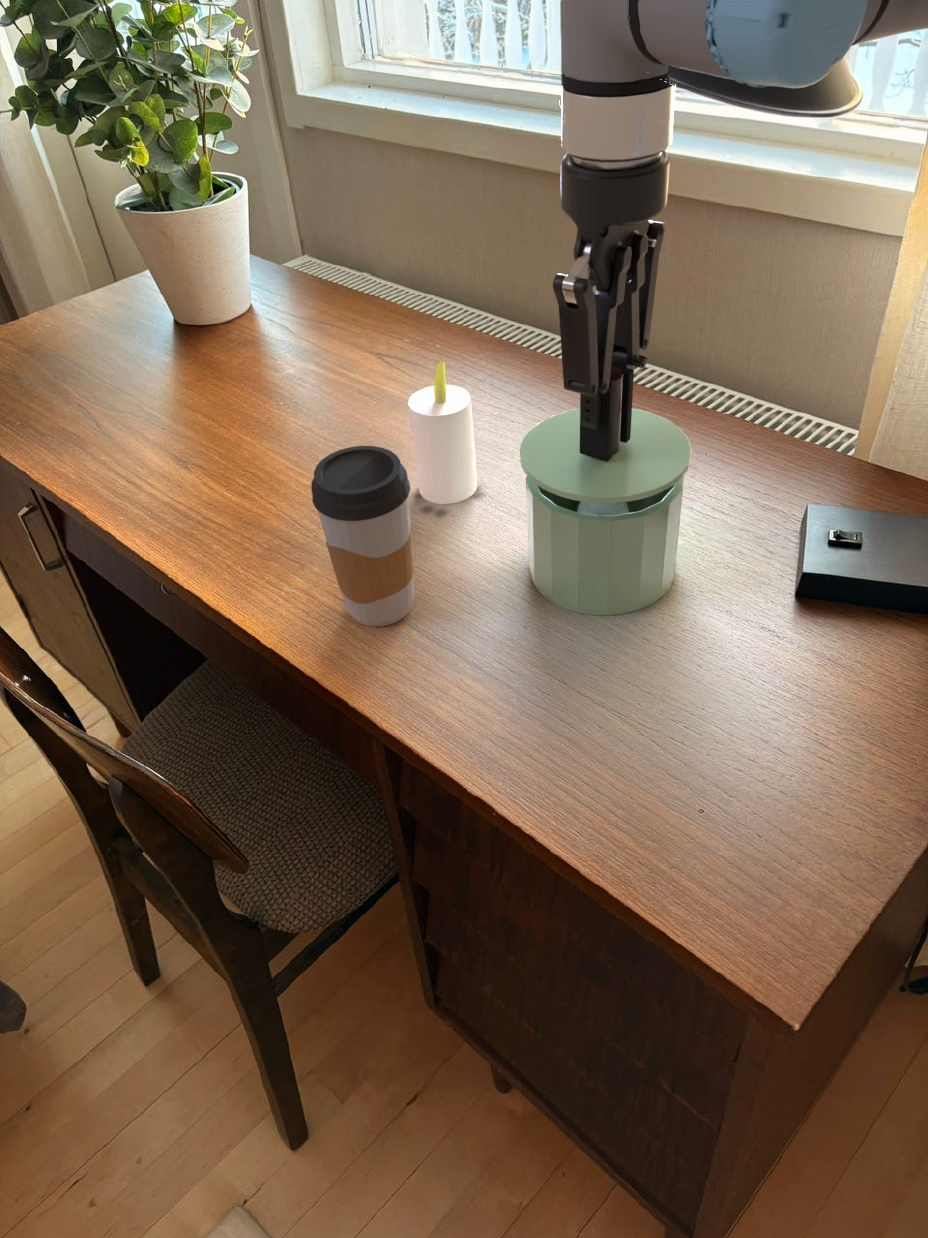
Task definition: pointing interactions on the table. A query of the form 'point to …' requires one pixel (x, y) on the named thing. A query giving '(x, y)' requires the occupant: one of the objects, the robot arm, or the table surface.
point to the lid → (627, 476)
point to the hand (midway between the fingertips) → (605, 445)
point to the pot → (602, 551)
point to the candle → (443, 441)
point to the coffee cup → (367, 531)
